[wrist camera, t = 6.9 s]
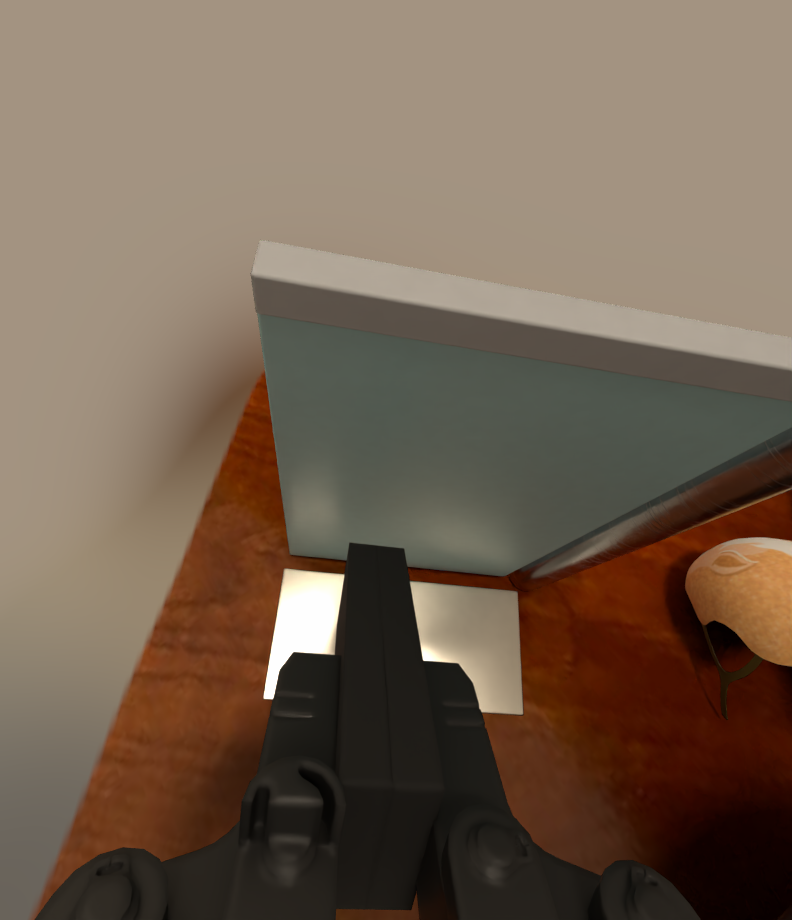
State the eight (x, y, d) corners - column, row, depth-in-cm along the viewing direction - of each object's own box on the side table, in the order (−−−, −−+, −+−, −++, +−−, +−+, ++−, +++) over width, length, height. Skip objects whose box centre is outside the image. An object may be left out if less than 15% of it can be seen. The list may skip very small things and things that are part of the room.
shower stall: (264, 698, 19) (-20, 830, 2) (292, 527, 22) (249, 75, 5) (555, 716, 20) (1575, 870, 4) (544, 555, 23) (1093, 268, 7)
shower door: (289, 556, 21) (249, 273, 6) (298, 500, 22) (281, 154, 7) (504, 578, 22) (884, 384, 8) (502, 524, 23) (829, 268, 9)
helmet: (738, 647, 26) (754, 509, 24) (890, 739, 20) (927, 562, 18) (650, 669, 25) (660, 525, 23) (783, 777, 18) (811, 589, 16)
